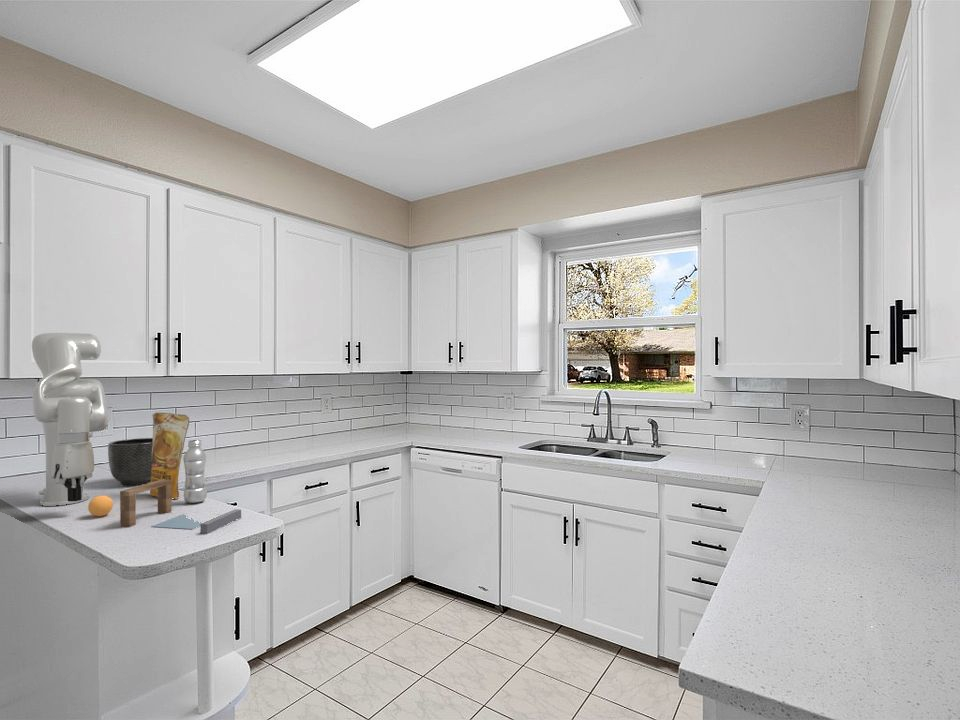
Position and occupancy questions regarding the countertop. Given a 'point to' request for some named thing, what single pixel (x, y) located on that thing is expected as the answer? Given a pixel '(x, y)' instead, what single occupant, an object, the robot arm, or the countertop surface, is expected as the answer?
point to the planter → (131, 461)
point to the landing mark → (178, 523)
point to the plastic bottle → (194, 473)
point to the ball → (100, 505)
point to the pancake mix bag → (168, 448)
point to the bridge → (130, 500)
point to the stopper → (219, 521)
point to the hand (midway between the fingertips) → (74, 500)
